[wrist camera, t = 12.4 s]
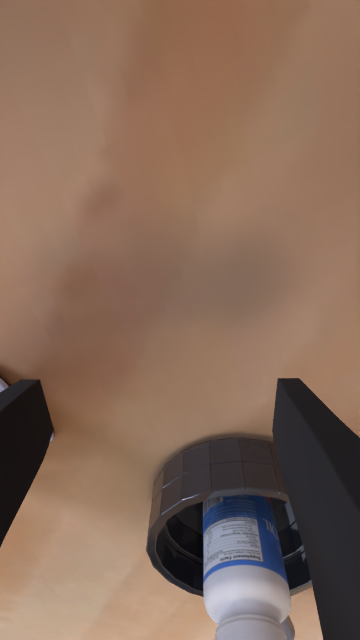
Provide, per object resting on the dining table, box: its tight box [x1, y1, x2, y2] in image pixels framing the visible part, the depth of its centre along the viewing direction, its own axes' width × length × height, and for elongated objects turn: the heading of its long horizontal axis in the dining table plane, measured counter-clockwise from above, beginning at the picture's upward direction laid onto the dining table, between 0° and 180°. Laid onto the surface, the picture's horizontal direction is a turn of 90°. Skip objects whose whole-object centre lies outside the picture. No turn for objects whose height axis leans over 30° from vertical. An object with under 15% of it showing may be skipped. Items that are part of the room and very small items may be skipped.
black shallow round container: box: [146, 438, 313, 597], centre depth 26 cm, size 13×13×4 cm
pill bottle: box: [203, 495, 291, 640], centre depth 23 cm, size 6×5×10 cm
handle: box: [281, 615, 295, 640], centre depth 29 cm, size 10×2×2 cm, turn 20°
